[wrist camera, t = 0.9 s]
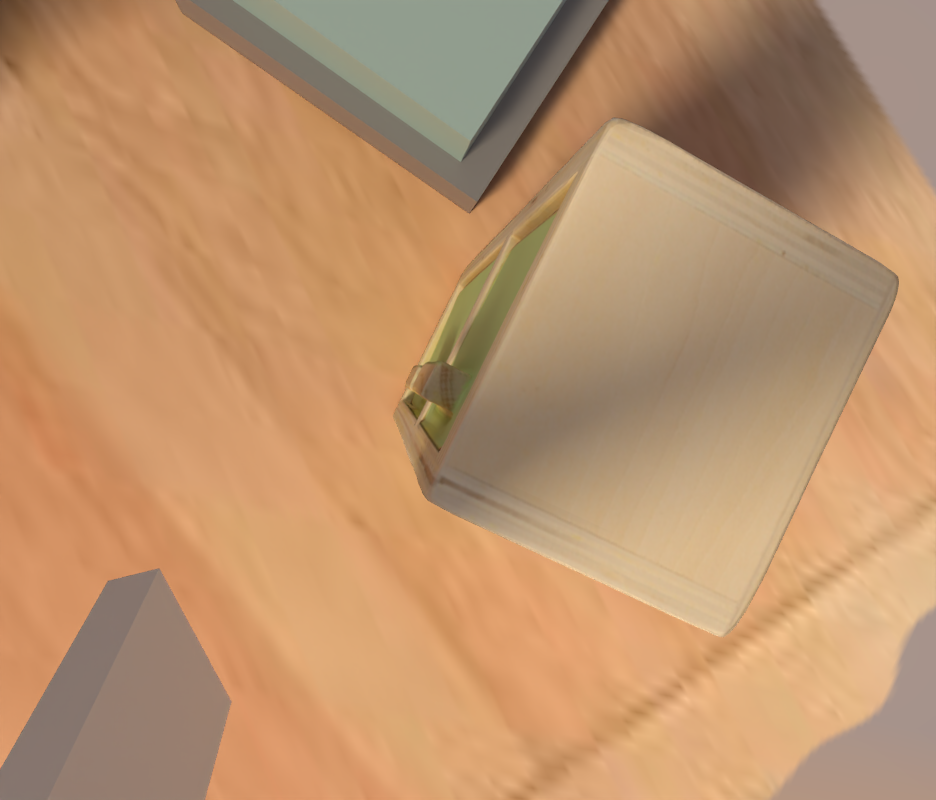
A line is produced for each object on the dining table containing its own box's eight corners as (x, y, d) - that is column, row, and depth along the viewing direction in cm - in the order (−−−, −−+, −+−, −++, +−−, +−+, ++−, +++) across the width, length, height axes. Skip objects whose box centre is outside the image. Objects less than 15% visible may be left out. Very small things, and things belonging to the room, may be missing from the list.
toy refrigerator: (451, 254, 33) (587, 85, 12) (587, 326, 34) (921, 281, 14) (375, 408, 33) (383, 496, 12) (513, 475, 34) (735, 659, 13)
